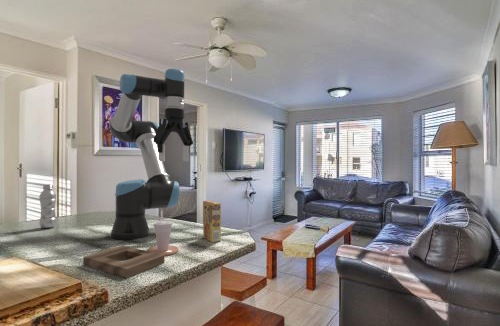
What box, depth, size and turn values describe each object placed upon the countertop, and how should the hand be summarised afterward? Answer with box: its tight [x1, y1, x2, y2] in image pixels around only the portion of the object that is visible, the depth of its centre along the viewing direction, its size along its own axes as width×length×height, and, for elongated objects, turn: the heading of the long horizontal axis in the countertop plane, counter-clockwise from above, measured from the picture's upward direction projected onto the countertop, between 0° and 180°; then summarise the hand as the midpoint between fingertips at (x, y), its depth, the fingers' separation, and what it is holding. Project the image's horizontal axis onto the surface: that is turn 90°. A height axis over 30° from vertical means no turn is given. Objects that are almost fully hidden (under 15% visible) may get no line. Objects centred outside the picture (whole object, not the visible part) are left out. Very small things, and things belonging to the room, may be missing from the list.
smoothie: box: [153, 210, 173, 251], centre depth 107 cm, size 6×6×14 cm
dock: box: [82, 244, 165, 279], centre depth 94 cm, size 20×14×2 cm
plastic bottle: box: [38, 184, 58, 229], centre depth 140 cm, size 6×7×20 cm
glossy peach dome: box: [145, 244, 180, 257], centre depth 107 cm, size 11×11×1 cm
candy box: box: [202, 200, 222, 243], centre depth 123 cm, size 9×4×15 cm, turn 33°
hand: (174, 161), depth 122 cm, fingers open, 13 cm apart
